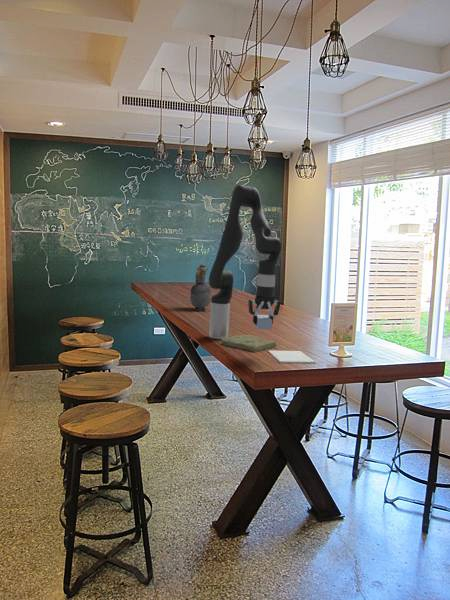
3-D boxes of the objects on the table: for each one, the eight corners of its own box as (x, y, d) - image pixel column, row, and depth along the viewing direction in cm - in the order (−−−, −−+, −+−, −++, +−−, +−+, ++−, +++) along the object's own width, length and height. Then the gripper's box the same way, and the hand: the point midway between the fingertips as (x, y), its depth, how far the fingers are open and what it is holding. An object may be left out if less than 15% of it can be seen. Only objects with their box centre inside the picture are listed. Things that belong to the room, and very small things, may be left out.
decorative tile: (255, 353, 232) (255, 345, 231) (220, 345, 244) (220, 337, 244) (278, 347, 246) (279, 340, 246) (244, 340, 259) (245, 333, 258)
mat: (268, 351, 234) (268, 350, 234) (300, 352, 237) (300, 351, 237) (280, 362, 216) (280, 361, 216) (315, 363, 218) (315, 361, 218)
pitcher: (195, 311, 334) (197, 264, 330) (186, 307, 352) (189, 262, 348) (211, 311, 338) (214, 264, 334) (202, 307, 355) (204, 262, 351)
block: (254, 323, 229) (254, 314, 228) (266, 324, 229) (267, 315, 229) (258, 329, 217) (258, 319, 217) (271, 329, 218) (272, 320, 217)
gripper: (279, 284, 226) (276, 323, 228) (247, 283, 223) (244, 322, 225) (284, 286, 218) (281, 326, 221) (251, 285, 216) (248, 325, 218)
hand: (262, 324), depth 223 cm, fingers closed on block, 5 cm apart
